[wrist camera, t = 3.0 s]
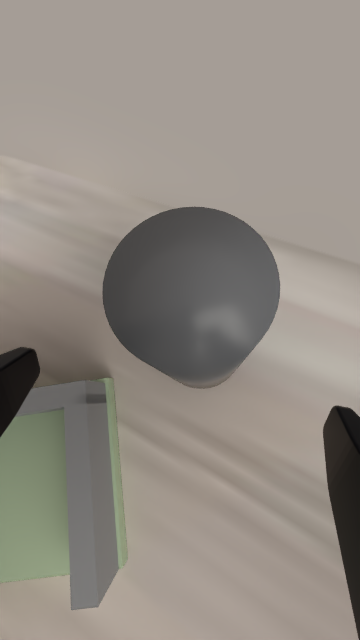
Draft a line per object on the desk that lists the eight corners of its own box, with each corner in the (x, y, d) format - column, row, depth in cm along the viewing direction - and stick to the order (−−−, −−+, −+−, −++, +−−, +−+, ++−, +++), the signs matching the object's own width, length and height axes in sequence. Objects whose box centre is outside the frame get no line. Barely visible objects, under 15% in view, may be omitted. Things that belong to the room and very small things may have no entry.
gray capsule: (235, 395, 18) (269, 389, 8) (154, 380, 19) (82, 355, 8) (246, 315, 19) (288, 215, 9) (169, 304, 20) (124, 199, 10)
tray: (127, 558, 17) (102, 606, 13) (-41, 578, 17) (-114, 630, 13) (113, 378, 19) (88, 373, 15) (-32, 401, 20) (-90, 402, 16)
